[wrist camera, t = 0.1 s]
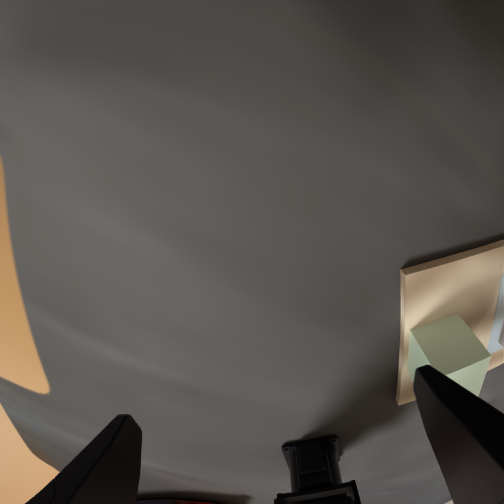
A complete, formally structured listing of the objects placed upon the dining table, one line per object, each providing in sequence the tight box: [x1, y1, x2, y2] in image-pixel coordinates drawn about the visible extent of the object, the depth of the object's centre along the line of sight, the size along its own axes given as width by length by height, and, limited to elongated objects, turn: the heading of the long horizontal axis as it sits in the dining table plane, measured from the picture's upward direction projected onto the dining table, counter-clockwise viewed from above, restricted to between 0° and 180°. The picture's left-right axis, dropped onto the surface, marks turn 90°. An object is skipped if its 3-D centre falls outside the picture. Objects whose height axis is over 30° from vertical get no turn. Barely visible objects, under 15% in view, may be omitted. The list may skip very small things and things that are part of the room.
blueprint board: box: [396, 240, 504, 406], centre depth 22 cm, size 16×20×6 cm
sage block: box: [407, 314, 491, 396], centre depth 22 cm, size 5×5×6 cm
